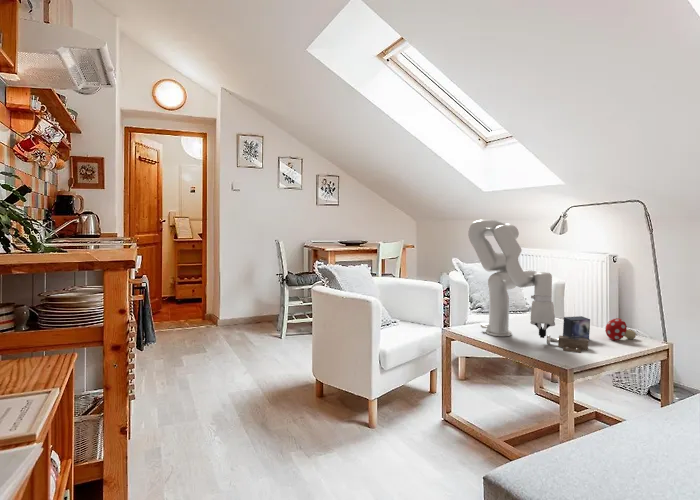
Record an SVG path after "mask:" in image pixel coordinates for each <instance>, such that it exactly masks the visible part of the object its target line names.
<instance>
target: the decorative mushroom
mask: <svg viewBox="0 0 700 500" xmlns="http://www.w3.org/2000/svg"><path fill="white" fill-rule="evenodd" d="M604 328H605V334H606V336H607V337H608V339H609V340H612V341H619V340H621V339H623V338H624V337H625V338H627V339H628V340H633V339H635V338H636V337H637V335H636V334H637V333H636V332H635V330H631V329H628V327H627V324H626V322H625V320H624V319H622V318H618V317H617V318H613V319H610V320H609V321H608V322H607V323H606V325H605V327H604Z"/></svg>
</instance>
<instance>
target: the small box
mask: <svg viewBox="0 0 700 500" xmlns="http://www.w3.org/2000/svg"><path fill="white" fill-rule="evenodd" d="M562 325H563V326H562V336H571V337H579V338H585V339H588V341H590V334H591V333H590V332H591V331H590V330H591V328H590V327H591V319H590V318H588V317H584V316H581V315H579V316H564V317H563V324H562Z"/></svg>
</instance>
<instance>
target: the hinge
mask: <svg viewBox="0 0 700 500" xmlns="http://www.w3.org/2000/svg"><path fill="white" fill-rule="evenodd" d="M557 339H558V343H557V346H558V348H563V349H562V351H565V352H572V353H577V354H581V353H582V351H588V350H589V340H588V339H585V338H579V337H571V336H563V335H559V336H558V338H557Z"/></svg>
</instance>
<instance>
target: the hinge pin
mask: <svg viewBox="0 0 700 500" xmlns="http://www.w3.org/2000/svg"><path fill="white" fill-rule="evenodd" d="M558 339H559V338H555V337H551V335H548V334H546V344H547V345H550V344H551V343H554V344H558Z"/></svg>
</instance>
